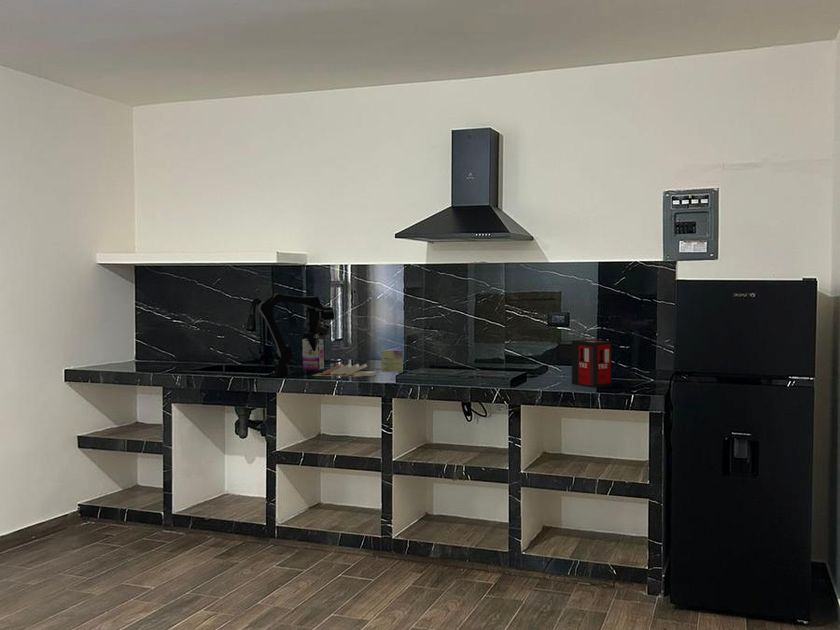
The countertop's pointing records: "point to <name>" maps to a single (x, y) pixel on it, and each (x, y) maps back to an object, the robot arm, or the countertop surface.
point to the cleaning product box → (592, 363)
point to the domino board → (333, 374)
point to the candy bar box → (313, 355)
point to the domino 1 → (332, 369)
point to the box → (391, 360)
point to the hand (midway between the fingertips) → (314, 351)
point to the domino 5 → (364, 373)
